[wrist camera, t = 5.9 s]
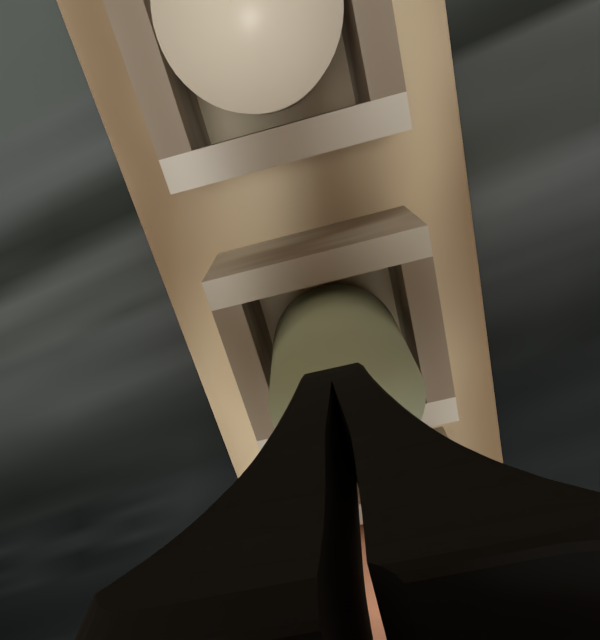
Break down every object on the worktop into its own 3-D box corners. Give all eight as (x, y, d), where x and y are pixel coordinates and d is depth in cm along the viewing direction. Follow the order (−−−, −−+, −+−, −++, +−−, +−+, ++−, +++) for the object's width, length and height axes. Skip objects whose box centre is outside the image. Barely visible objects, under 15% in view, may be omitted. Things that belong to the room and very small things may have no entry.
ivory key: (312, -73, 14) (318, -141, 10) (345, 93, 16) (361, 86, 12) (164, -27, 14) (119, -77, 11) (212, 130, 16) (188, 135, 12)
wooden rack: (420, -163, 15) (462, -257, 11) (509, 534, 25) (546, 607, 21) (44, -42, 16) (-32, -91, 12) (279, 580, 26) (277, 657, 22)
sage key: (385, 269, 17) (411, 314, 13) (407, 381, 18) (436, 449, 15) (258, 301, 17) (249, 352, 13) (291, 408, 19) (290, 480, 15)
